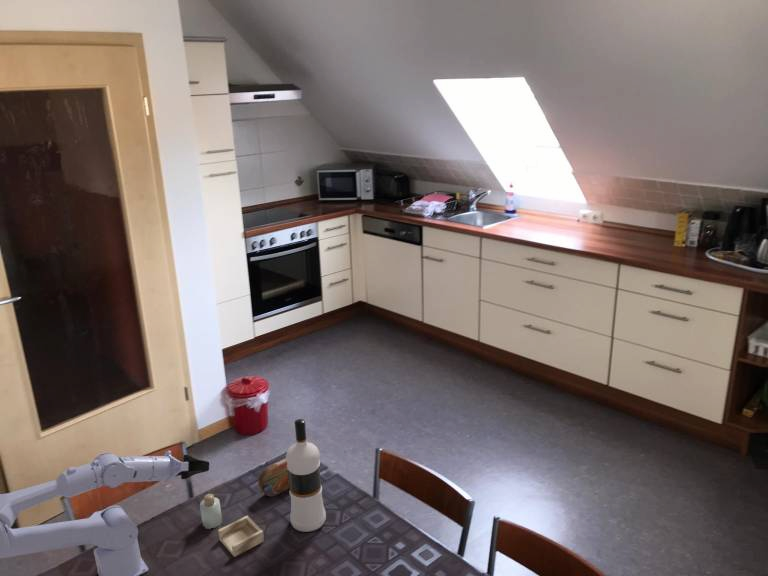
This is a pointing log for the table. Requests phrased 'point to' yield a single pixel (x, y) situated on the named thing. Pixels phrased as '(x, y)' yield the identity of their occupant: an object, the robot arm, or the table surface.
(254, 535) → the wooden box
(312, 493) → the vodka
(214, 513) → the bottle
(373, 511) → the table surface
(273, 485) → the tin
